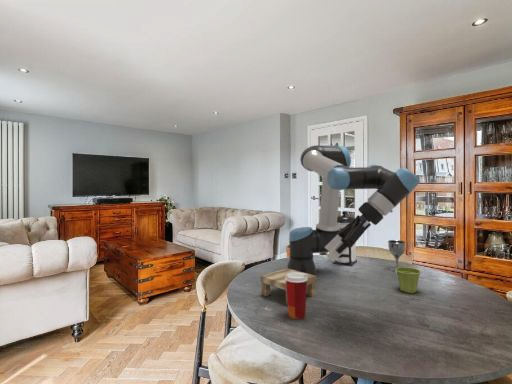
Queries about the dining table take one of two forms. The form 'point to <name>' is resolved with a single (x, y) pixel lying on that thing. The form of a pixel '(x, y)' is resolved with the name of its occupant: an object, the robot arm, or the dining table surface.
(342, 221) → the coffee press
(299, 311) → the paper cup
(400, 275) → the plant pot
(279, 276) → the wooden step stool
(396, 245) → the wine glass
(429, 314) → the dining table surface
